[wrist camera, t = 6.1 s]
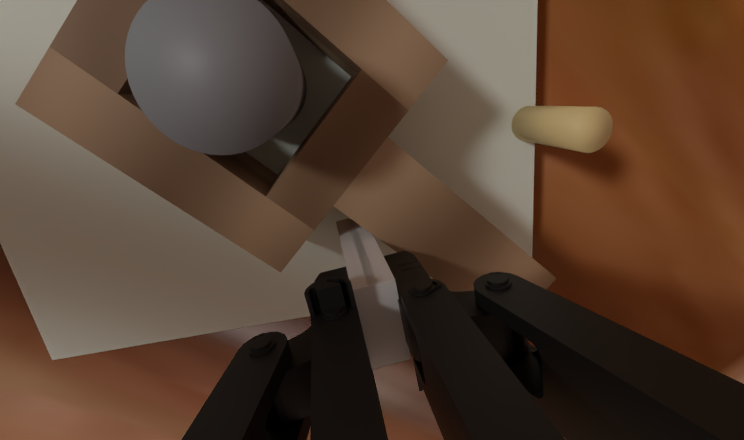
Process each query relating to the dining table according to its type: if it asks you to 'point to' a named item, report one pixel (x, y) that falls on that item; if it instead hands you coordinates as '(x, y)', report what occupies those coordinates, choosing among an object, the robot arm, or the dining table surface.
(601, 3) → the dining table surface
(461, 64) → the post board
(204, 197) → the wooden frame with handle
